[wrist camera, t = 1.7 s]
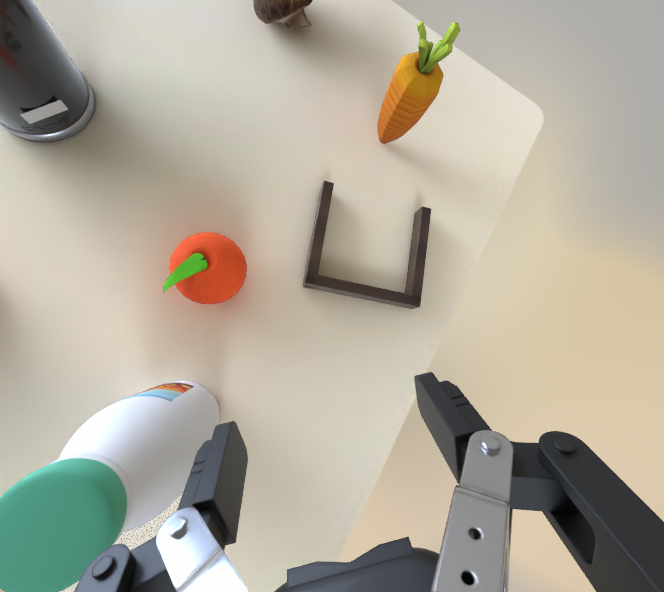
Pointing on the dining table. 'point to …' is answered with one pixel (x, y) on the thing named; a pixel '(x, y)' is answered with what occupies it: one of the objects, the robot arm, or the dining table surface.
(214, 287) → the clementine
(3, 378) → the dining table surface
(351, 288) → the bay
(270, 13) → the mushroom
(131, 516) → the milk bottle
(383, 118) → the carrot
